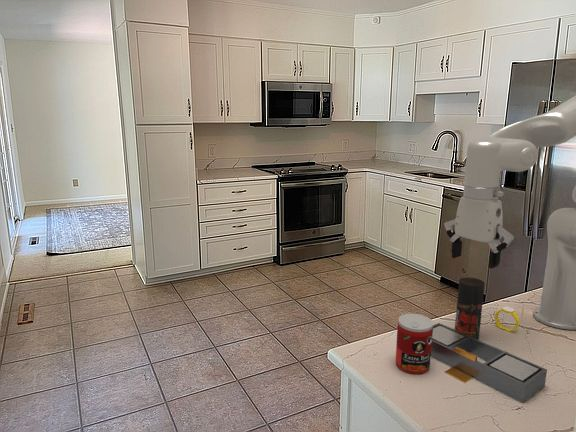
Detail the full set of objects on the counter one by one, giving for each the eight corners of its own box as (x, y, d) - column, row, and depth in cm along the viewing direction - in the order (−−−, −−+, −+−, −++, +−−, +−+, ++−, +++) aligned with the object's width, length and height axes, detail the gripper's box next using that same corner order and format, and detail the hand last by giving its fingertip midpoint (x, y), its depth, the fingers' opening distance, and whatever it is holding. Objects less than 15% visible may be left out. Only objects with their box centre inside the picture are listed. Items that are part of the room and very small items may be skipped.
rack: (437, 336, 114) (438, 319, 113) (544, 386, 93) (547, 365, 92) (406, 351, 107) (407, 333, 106) (514, 409, 86) (517, 386, 85)
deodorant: (449, 332, 116) (454, 279, 113) (467, 329, 118) (473, 276, 115) (464, 343, 111) (470, 287, 107) (484, 339, 112) (490, 284, 109)
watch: (518, 332, 117) (523, 312, 115) (513, 335, 115) (518, 315, 113) (496, 322, 121) (500, 303, 120) (491, 325, 120) (495, 306, 118)
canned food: (399, 375, 97) (402, 329, 95) (391, 355, 105) (394, 313, 103) (434, 375, 97) (438, 329, 95) (424, 355, 105) (427, 313, 103)
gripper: (525, 196, 100) (517, 268, 104) (456, 187, 113) (451, 250, 117) (509, 200, 95) (500, 275, 99) (439, 190, 109) (434, 256, 113)
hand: (474, 261), depth 108 cm, fingers open, 9 cm apart
